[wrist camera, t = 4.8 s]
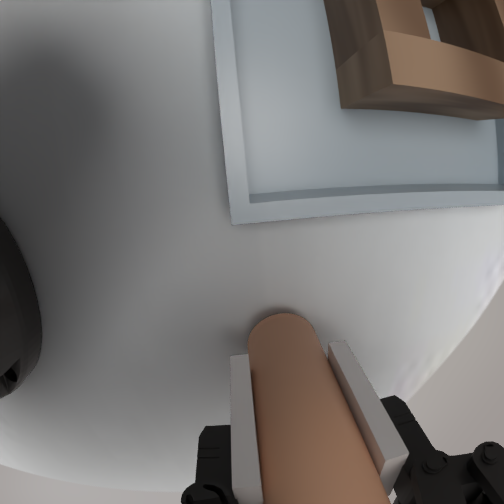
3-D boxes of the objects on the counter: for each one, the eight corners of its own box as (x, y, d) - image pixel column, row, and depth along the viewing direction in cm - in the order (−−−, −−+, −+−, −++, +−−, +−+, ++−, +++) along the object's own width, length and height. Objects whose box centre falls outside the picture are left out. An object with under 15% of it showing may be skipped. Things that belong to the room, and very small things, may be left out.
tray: (232, 209, 15) (231, 225, 11) (208, -67, 10) (204, -108, 7) (498, 193, 15) (541, 203, 12) (455, -32, 11) (485, -52, 7)
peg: (250, 374, 16) (280, 644, 3) (244, 317, 15) (276, 650, 2) (315, 365, 16) (405, 614, 3) (315, 308, 15) (455, 596, 2)
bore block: (340, 108, 13) (392, 84, 8) (314, -37, 11) (341, -95, 6) (476, 120, 14) (543, 116, 8) (448, -8, 11) (497, -38, 6)
